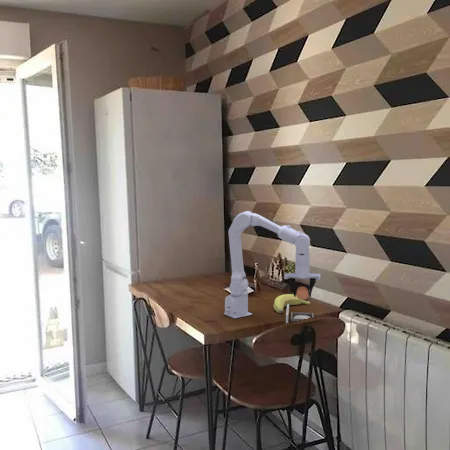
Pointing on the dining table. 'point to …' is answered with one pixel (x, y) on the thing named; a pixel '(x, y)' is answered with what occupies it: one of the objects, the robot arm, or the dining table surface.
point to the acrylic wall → (287, 313)
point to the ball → (302, 293)
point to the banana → (287, 302)
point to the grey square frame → (301, 316)
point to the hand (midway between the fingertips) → (302, 296)
